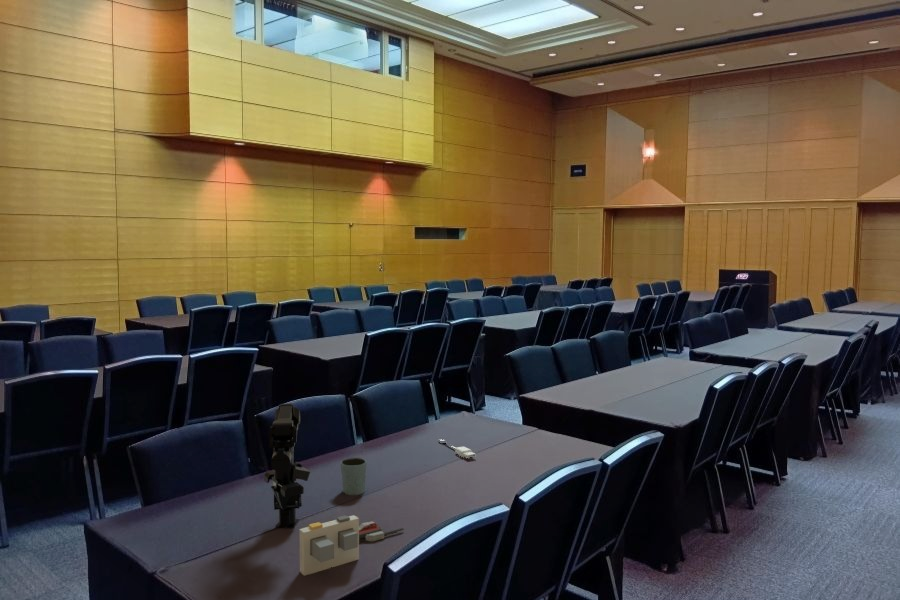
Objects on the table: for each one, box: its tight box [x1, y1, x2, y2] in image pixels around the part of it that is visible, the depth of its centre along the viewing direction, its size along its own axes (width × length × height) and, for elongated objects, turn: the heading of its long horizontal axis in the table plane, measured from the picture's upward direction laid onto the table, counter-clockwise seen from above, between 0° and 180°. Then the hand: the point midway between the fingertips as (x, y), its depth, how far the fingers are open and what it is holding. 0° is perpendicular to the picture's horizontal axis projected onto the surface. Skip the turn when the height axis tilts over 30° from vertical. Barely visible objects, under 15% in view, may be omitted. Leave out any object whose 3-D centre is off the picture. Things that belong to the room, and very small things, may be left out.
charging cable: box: [439, 438, 476, 459], centre depth 317 cm, size 5×32×3 cm, turn 28°
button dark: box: [338, 529, 358, 551], centre depth 204 cm, size 9×4×4 cm, turn 36°
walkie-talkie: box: [359, 520, 405, 543], centre depth 223 cm, size 9×4×20 cm
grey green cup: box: [340, 457, 367, 496], centre depth 263 cm, size 10×10×12 cm
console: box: [299, 514, 360, 577], centre depth 202 cm, size 3×18×14 cm, turn 126°
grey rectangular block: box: [310, 536, 334, 562], centre depth 196 cm, size 9×4×4 cm, turn 36°
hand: (283, 509), depth 214 cm, fingers closed
